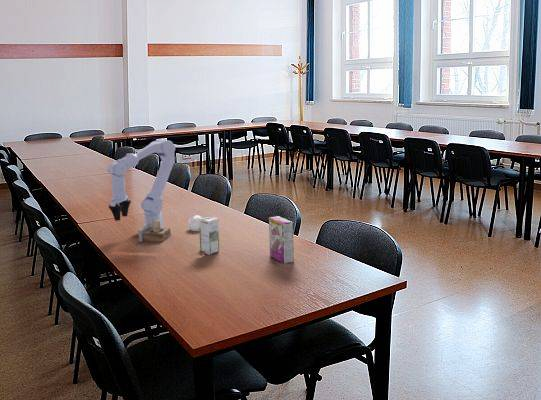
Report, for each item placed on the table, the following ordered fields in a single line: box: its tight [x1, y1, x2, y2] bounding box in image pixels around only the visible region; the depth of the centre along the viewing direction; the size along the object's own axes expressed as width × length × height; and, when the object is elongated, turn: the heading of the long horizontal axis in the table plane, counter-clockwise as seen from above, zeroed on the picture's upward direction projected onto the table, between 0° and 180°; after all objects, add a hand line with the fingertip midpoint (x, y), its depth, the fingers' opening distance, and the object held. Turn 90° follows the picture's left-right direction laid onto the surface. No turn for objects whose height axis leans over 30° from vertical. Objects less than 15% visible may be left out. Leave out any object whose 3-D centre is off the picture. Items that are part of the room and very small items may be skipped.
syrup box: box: [199, 216, 220, 256], centre depth 229 cm, size 6×6×14 cm
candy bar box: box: [268, 215, 295, 265], centre depth 218 cm, size 11×5×16 cm, turn 30°
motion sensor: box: [187, 214, 204, 232], centre depth 261 cm, size 8×8×8 cm
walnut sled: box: [143, 227, 172, 243], centre depth 249 cm, size 10×9×4 cm
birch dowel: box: [152, 220, 161, 232], centre depth 248 cm, size 4×4×7 cm
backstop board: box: [138, 224, 151, 243], centre depth 248 cm, size 11×20×6 cm, turn 80°
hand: (121, 218), depth 252 cm, fingers open, 7 cm apart
